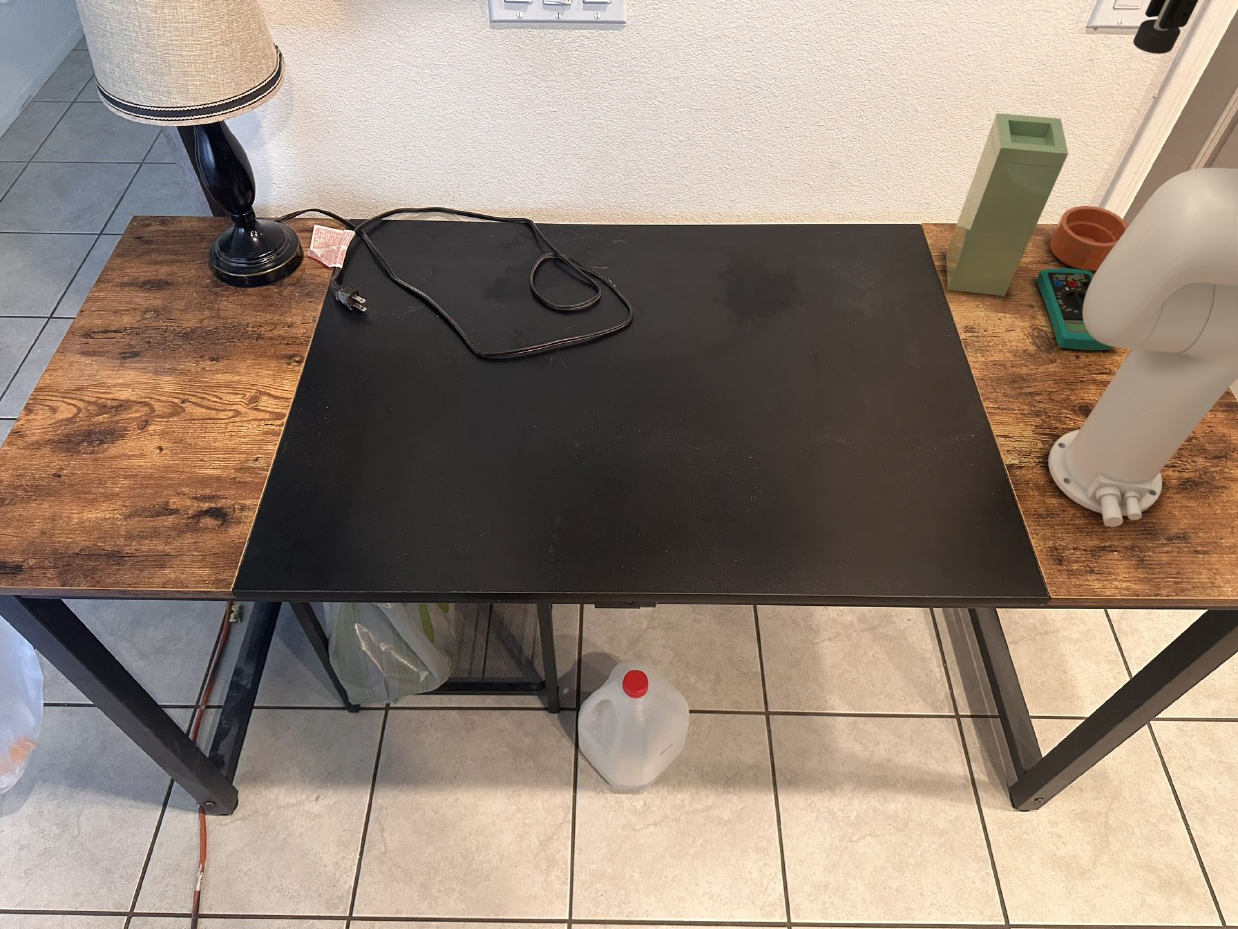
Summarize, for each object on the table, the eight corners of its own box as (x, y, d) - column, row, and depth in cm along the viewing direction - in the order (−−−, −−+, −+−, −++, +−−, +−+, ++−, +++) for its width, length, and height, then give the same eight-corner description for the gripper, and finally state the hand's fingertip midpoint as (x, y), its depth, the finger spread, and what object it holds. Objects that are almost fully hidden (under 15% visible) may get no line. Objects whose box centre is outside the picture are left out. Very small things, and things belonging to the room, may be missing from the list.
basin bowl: (1119, 276, 126) (1135, 249, 122) (1051, 269, 127) (1065, 242, 123) (1109, 237, 131) (1124, 209, 127) (1045, 230, 132) (1057, 202, 128)
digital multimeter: (1084, 281, 125) (1092, 265, 123) (1112, 353, 116) (1122, 337, 114) (1033, 279, 126) (1040, 263, 123) (1057, 351, 116) (1065, 335, 114)
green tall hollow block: (1004, 296, 123) (1068, 153, 105) (947, 290, 124) (1001, 147, 106) (1000, 261, 128) (1061, 118, 110) (945, 255, 129) (996, 112, 111)
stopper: (1175, 55, 101) (1214, -20, 94) (1136, 52, 102) (1171, -22, 95) (1168, 37, 104) (1205, -37, 97) (1130, 34, 104) (1164, -40, 98)
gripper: (1175, -189, 90) (1100, -7, 105) (1269, -135, 81) (1172, 58, 95) (1240, -194, 91) (1157, -13, 106) (1341, -141, 81) (1234, 51, 96)
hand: (1165, 19), depth 100 cm, fingers closed on stopper, 2 cm apart
